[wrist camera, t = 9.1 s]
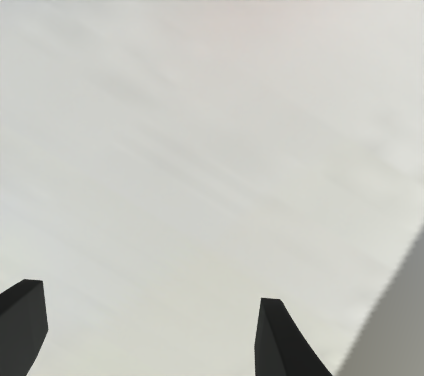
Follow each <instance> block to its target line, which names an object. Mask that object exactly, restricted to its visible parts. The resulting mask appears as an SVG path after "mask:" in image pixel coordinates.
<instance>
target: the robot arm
mask: <svg viewBox="0 0 424 376" xmlns="http://www.w3.org/2000/svg"><path fill="white" fill-rule="evenodd" d="M47 332H48V323H47V314H46V306H45V297H44V288H43V281H40V280H28V279H24V280H22V281H20V282H19V283H17V284H15V285H14V286H12V287H10V288H9V289H7V290H6V291H4V292H3V293H1V294H0V376H26V375H27V373H28V371H29V370H30V368H31V366H32V365H33V363H34V361H35V359H36V357H37V355H38V353H39V351H40V348H41V346H42V344H43V341H44V339H45V337H46V334H47ZM254 349H255V375H256V376H332V374H331V373H330V372H329V371H328V370H327V368H326V367H325V366H324V364H323V363H322V362H321V361H320V359H319V358H318V357H317V355H316V354H315V353H314V351H313V350H312V348H311V347H310V345H309V344H308V343H307V341H306V340H305V338H304V337H303V335H302V334H301V332H300V331H299V329H298V328H297V326H296V324H295V323H294V321H293V320H292V318H291V316H290V315H289V313H288V311H287V309H286V308H285V306H284V304H283V302H282V301H281V300H280V299H270V298H261V303H260V310H259V317H258V324H257V332H256V339H255V346H254Z"/></svg>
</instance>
